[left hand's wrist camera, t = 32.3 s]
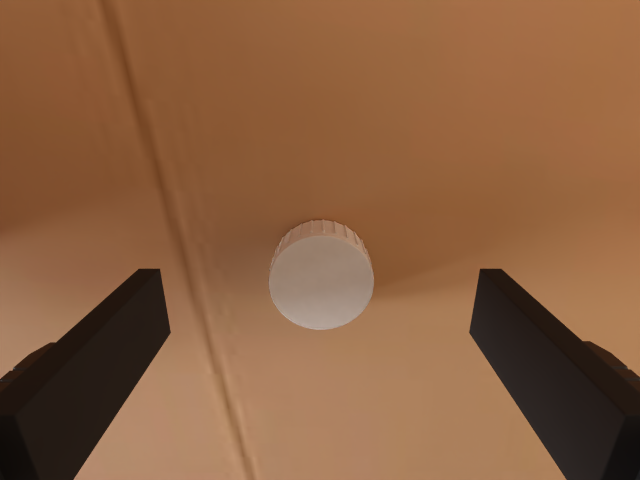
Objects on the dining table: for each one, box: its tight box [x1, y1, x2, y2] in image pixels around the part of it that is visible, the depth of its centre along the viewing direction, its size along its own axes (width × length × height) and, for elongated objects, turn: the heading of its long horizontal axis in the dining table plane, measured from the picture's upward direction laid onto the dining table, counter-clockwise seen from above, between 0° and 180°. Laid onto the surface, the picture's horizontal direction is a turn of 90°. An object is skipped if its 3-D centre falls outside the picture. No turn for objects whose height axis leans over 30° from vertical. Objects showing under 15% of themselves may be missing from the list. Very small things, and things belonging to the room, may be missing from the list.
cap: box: [269, 219, 374, 330], centre depth 15 cm, size 4×4×2 cm
